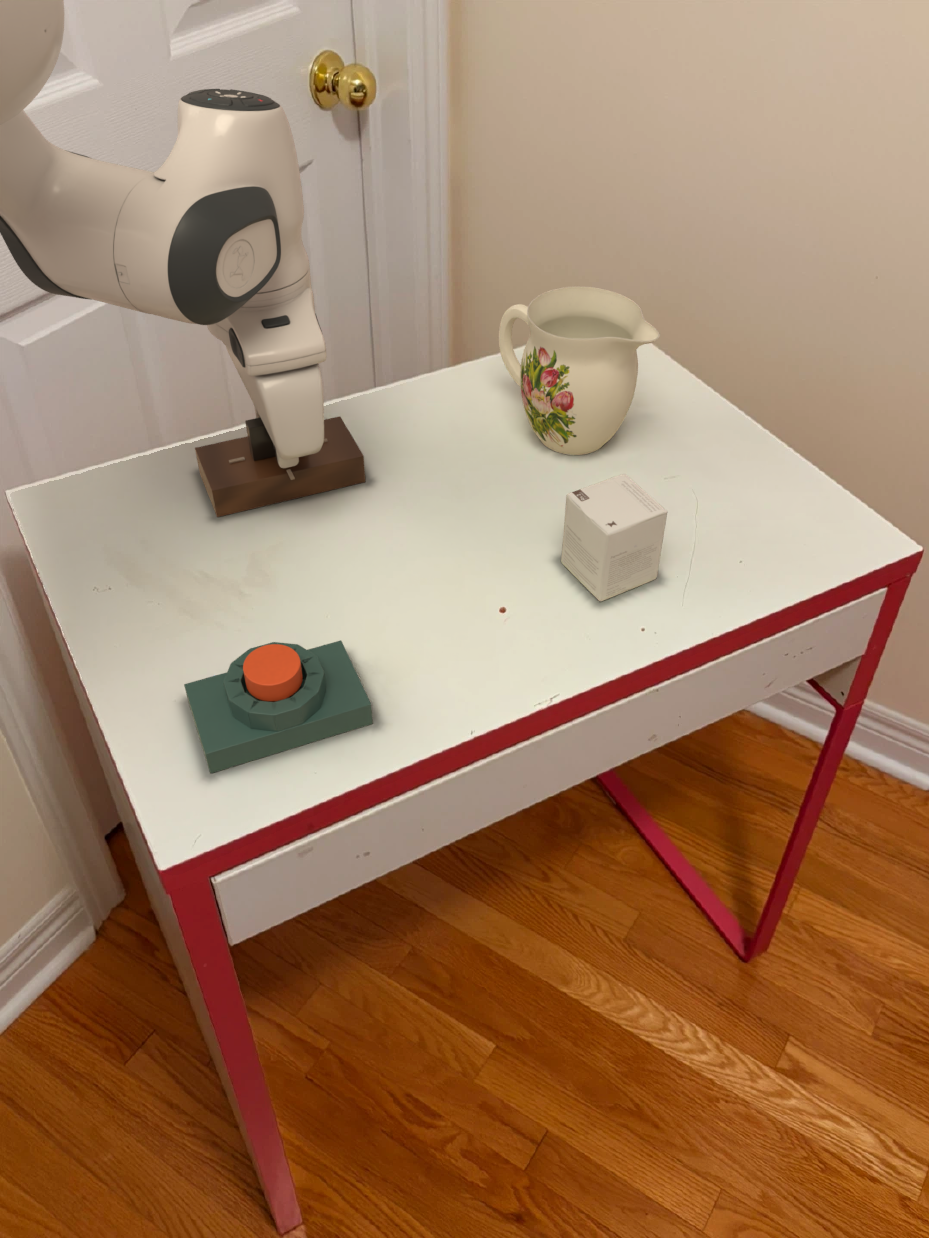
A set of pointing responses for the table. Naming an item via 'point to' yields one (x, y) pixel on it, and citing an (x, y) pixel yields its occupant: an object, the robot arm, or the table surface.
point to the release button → (272, 672)
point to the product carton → (612, 536)
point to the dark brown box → (259, 440)
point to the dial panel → (277, 471)
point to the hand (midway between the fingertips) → (277, 443)
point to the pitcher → (576, 364)
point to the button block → (277, 708)
